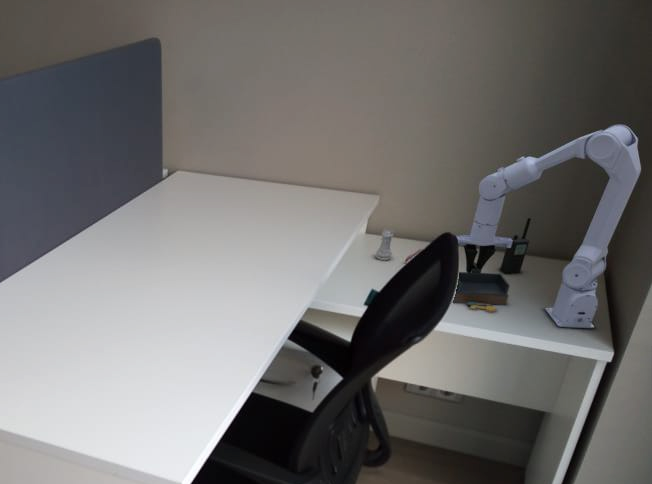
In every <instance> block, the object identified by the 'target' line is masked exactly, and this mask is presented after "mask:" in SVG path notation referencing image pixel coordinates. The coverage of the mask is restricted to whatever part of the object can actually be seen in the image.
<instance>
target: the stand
mask: <svg viewBox="0 0 652 484" xmlns="http://www.w3.org/2000/svg"><path fill="white" fill-rule="evenodd" d="M508 298H509V295H508V294H507V296H504V295H482V294H459V293H456V294H455V297H454V300H453V302H452V303H461V304H462V303H463V304H467V302H476V303H485V304H491V305H507V302H508Z"/></svg>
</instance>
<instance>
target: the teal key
mask: <svg viewBox="0 0 652 484" xmlns="http://www.w3.org/2000/svg"><path fill="white" fill-rule="evenodd" d="M466 305H468V306H471V305H476V306H484V307H486V306H492V304H485V303H476V302H467V303H466Z"/></svg>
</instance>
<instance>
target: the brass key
mask: <svg viewBox="0 0 652 484" xmlns="http://www.w3.org/2000/svg"><path fill="white" fill-rule="evenodd" d="M469 306H470V307H469V309H470V310H474V311H475V310H476V309H479V310H485V311H486V312H489V313H493V312H495V311H496V307H495V306H493V305H491V306H482V305H469Z"/></svg>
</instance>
